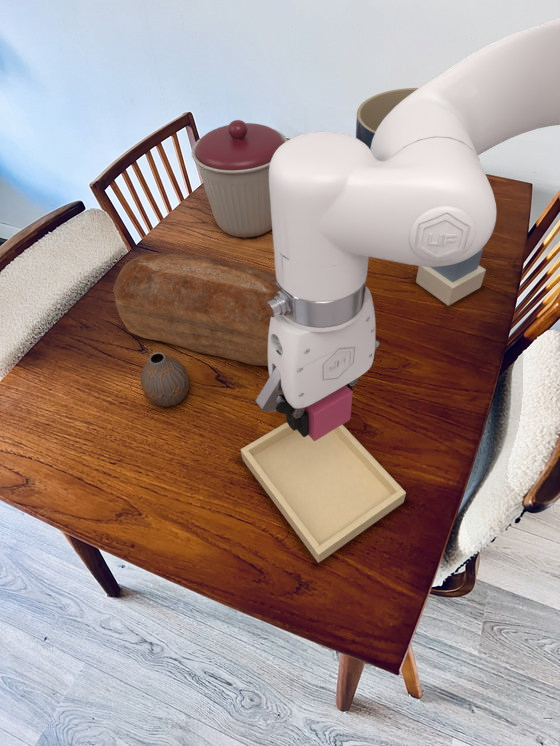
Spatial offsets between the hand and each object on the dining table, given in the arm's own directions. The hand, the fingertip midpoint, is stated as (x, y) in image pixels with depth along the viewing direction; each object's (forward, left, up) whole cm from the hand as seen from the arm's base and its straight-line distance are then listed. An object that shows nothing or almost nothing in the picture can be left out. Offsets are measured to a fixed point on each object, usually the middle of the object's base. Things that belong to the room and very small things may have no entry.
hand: (319, 413), depth 58 cm
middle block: (+18, -42, -11) cm, 47 cm away
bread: (+33, -2, -15) cm, 36 cm away
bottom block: (+18, -42, -15) cm, 48 cm away
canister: (+57, -24, -15) cm, 64 cm away
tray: (0, 0, -15) cm, 15 cm away
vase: (+25, +10, -15) cm, 31 cm away
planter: (+40, -52, -15) cm, 67 cm away
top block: (0, 0, 0) cm, 0 cm away
